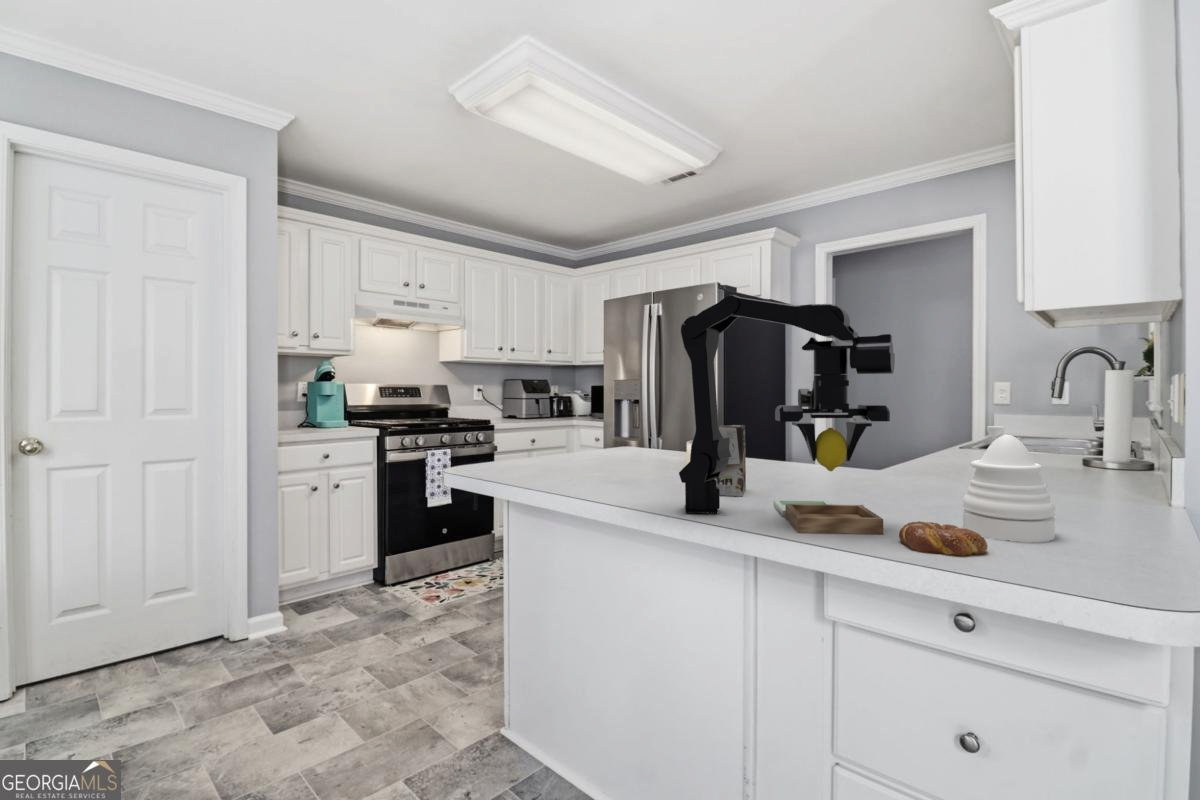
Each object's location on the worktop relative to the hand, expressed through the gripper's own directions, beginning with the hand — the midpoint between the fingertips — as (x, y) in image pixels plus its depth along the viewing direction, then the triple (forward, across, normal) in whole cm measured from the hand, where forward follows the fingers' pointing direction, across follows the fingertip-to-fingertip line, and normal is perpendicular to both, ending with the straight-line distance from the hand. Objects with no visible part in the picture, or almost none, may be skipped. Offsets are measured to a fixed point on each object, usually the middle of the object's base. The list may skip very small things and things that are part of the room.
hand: (830, 460), depth 107 cm
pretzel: (+12, -13, +13) cm, 23 cm away
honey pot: (+12, -28, +3) cm, 31 cm away
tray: (+12, 0, 0) cm, 12 cm away
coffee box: (+12, +15, -32) cm, 37 cm away
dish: (+12, +2, -12) cm, 17 cm away
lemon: (+2, 0, 0) cm, 2 cm away
